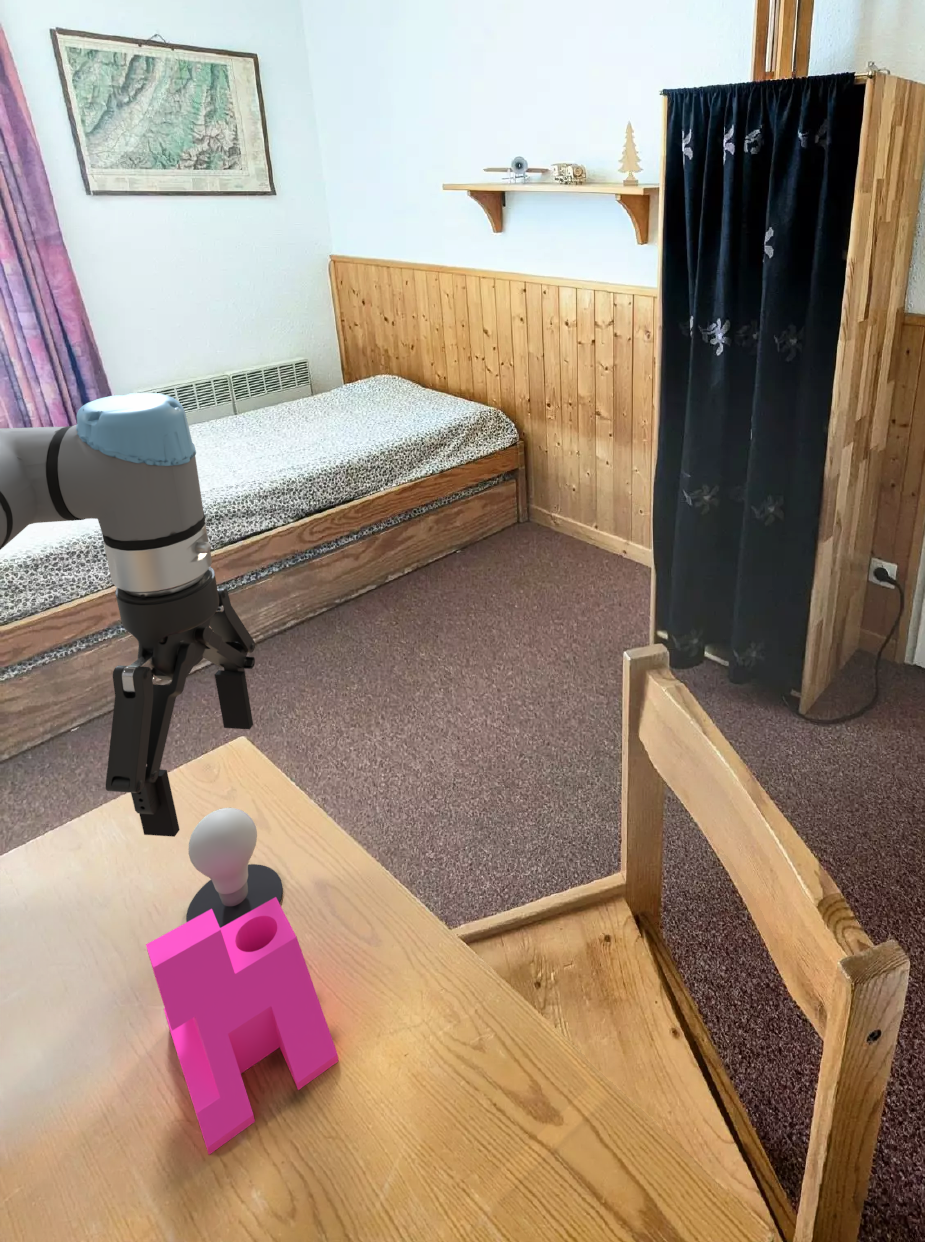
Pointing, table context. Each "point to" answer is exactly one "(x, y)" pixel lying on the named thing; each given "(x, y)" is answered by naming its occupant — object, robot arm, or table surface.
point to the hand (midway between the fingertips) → (203, 774)
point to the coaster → (260, 891)
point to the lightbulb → (224, 851)
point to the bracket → (238, 1010)
